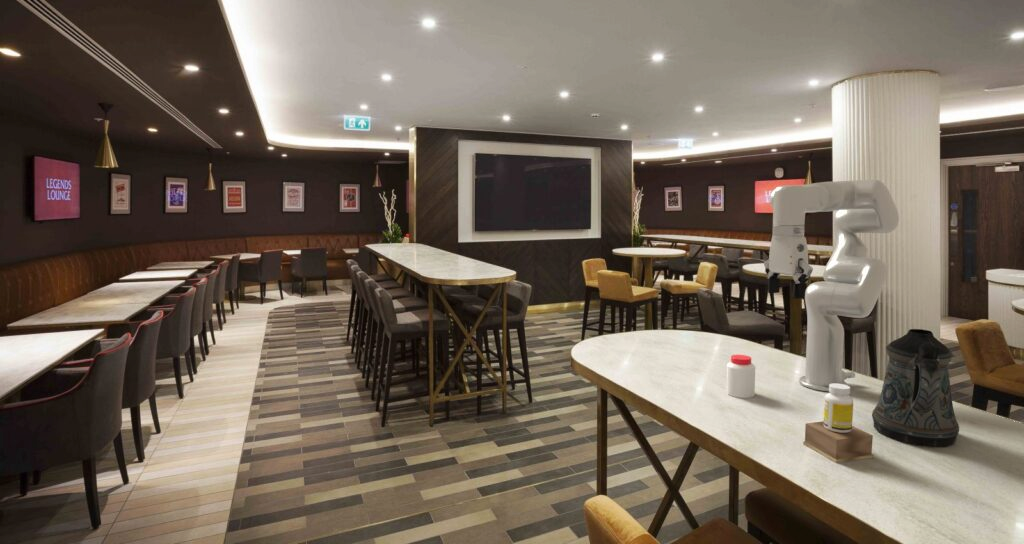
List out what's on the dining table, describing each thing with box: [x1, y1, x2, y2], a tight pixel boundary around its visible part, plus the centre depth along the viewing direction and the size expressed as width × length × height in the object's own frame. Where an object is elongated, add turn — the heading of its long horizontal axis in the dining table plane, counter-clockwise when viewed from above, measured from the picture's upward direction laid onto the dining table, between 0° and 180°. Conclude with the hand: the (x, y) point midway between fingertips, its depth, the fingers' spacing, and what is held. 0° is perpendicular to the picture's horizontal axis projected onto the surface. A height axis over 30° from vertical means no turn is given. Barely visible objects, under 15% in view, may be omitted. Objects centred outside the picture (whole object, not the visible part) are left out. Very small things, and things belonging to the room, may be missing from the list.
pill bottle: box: [725, 354, 756, 399], centre depth 156 cm, size 8×8×11 cm
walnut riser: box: [802, 420, 874, 464], centre depth 119 cm, size 9×9×5 cm
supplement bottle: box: [823, 383, 854, 433], centre depth 118 cm, size 5×5×10 cm
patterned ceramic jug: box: [871, 328, 960, 449], centre depth 124 cm, size 16×19×25 cm
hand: (785, 295), depth 144 cm, fingers open, 9 cm apart
